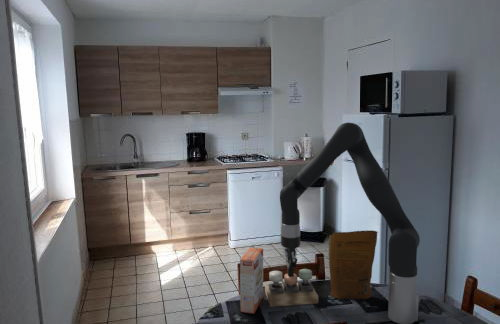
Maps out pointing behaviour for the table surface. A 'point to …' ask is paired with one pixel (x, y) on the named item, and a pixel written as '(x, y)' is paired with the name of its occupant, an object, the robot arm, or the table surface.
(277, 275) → the white round piece
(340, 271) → the pancake mix bag
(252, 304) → the cracker box
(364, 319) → the table surface
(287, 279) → the peach ball
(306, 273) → the pale green ball
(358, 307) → the table surface
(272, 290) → the tan slotted panel
